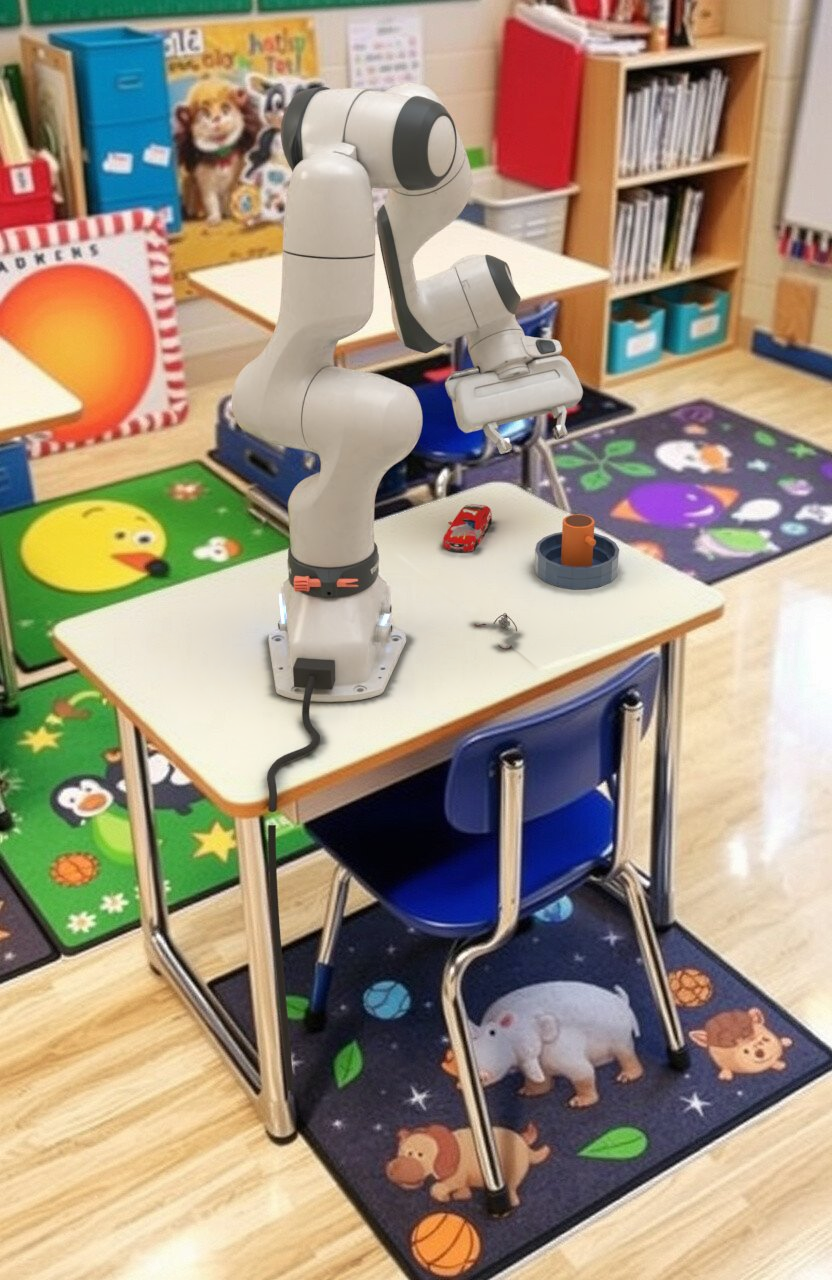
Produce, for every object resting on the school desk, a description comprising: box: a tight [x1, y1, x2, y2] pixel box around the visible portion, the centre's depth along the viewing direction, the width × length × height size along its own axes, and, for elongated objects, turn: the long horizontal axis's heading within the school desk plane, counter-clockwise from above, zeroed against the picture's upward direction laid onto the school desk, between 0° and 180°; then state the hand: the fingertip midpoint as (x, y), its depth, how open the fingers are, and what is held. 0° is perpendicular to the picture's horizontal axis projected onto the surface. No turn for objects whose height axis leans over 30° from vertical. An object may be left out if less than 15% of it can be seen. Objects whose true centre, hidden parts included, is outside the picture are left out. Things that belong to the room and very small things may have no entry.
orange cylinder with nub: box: [561, 513, 596, 567], centre depth 204 cm, size 6×5×8 cm
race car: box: [442, 503, 493, 553], centre depth 217 cm, size 13×5×4 cm, turn 160°
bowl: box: [534, 531, 620, 590], centre depth 206 cm, size 12×12×4 cm
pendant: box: [474, 612, 518, 650], centre depth 191 cm, size 8×4×3 cm, turn 35°
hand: (534, 444), depth 208 cm, fingers open, 8 cm apart
